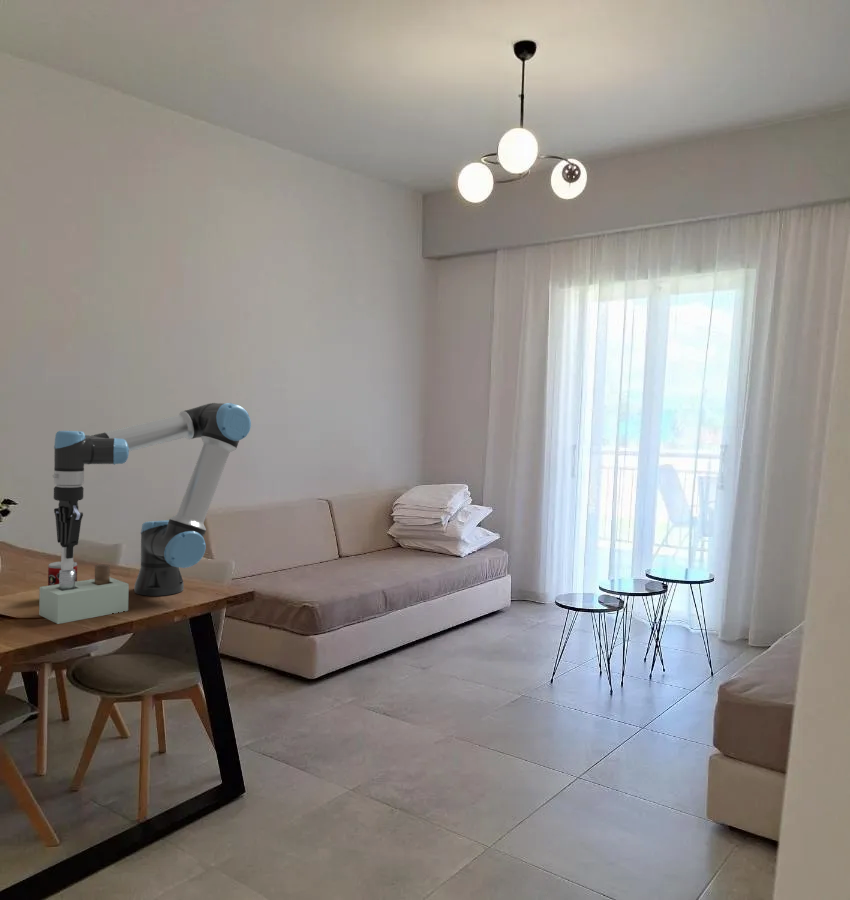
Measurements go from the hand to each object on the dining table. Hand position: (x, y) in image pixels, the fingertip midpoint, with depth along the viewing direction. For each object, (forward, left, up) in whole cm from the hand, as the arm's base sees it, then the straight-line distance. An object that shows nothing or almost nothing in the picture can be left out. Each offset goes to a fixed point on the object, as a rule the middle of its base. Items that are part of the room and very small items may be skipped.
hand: (67, 569), depth 205 cm
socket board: (-5, 0, -13) cm, 14 cm away
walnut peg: (-10, 0, -8) cm, 13 cm away
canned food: (-7, -19, -14) cm, 24 cm away
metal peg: (0, 0, -8) cm, 8 cm away
